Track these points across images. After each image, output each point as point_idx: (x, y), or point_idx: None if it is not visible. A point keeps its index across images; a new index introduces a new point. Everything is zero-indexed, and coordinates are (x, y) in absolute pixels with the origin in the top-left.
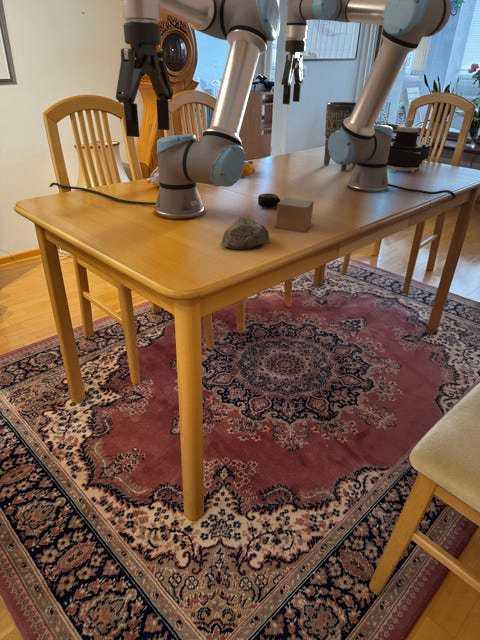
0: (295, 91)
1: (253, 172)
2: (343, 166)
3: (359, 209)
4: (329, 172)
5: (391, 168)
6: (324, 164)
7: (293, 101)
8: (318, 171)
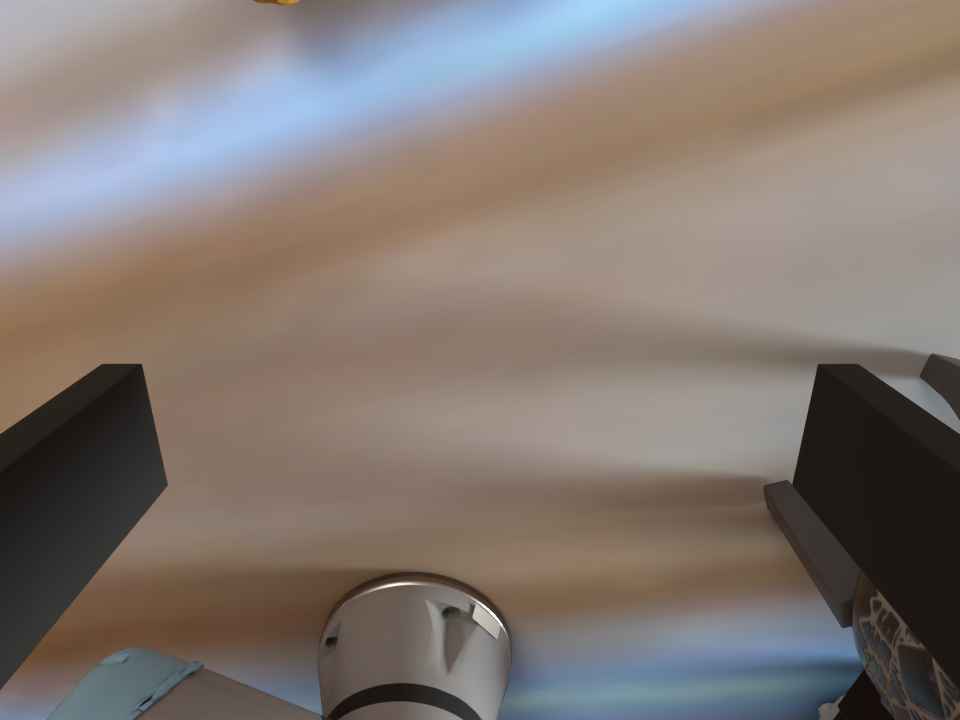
0: (934, 521)
1: (257, 1)
2: (773, 508)
3: (38, 664)
4: (698, 431)
5: (832, 708)
6: (930, 357)
7: (814, 381)
8: (703, 366)
